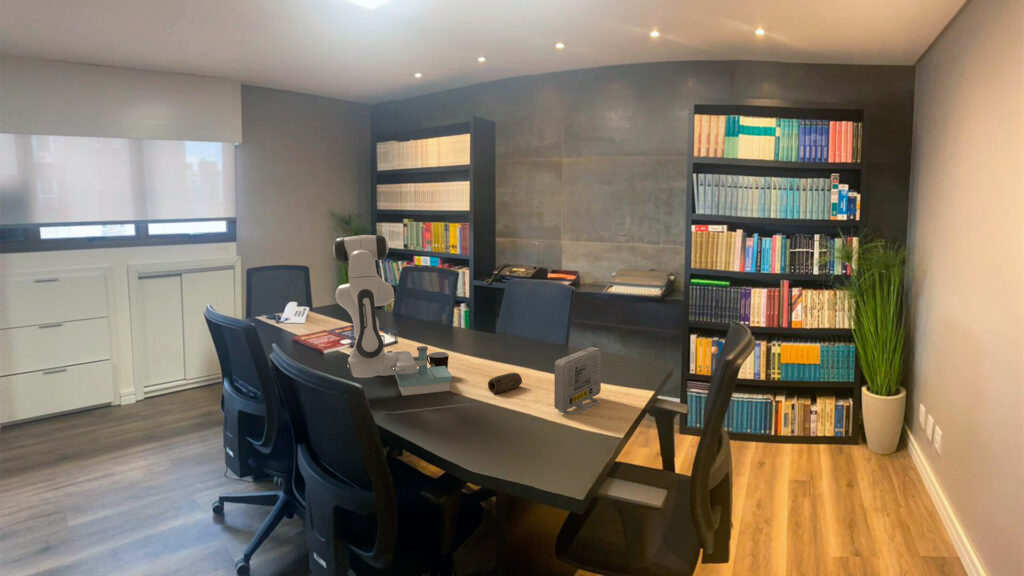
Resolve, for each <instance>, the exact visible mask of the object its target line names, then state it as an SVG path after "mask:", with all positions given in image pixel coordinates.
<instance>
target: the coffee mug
mask: <svg viewBox="0 0 1024 576" xmlns="http://www.w3.org/2000/svg"><path fill="white" fill-rule="evenodd" d="M449 357H450V354H449V353H448V352H446V351H445V352H444V351H434V352H431V353H429V354H427V364H429V367H438V366H445V367H446V368H447V369H448V365H449ZM448 370H449V369H448Z"/></svg>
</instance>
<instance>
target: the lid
mask: <svg viewBox="0 0 1024 576" xmlns="http://www.w3.org/2000/svg"><path fill="white" fill-rule="evenodd" d="M428 349H429V347H428V346H426V345H419V346H417V347H416V350H417V354H418V356H417V357H418V358H419V361H421V360H426V365H421V366H419V367H417V372H416V373H410V374H399V373H397V372H396V374H395V375H394V377H395V379H396V381H397V385H398V384H399V386H398V388H399V387H406V386H416V385H425V384H435V383H445V382H450V383H451V382H452V383H453V382H454V381H453V375H452V374H451V372H450V371H449V369H447V368H446V367H445V366H438V367H430V366H429V367H428V361H427V356H428V352H427V351H428Z"/></svg>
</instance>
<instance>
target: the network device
mask: <svg viewBox="0 0 1024 576" xmlns="http://www.w3.org/2000/svg"><path fill="white" fill-rule="evenodd" d="M601 373H602V349H601V348H599V347H598V348H597V347H592V346H590V347H587V348H585V349H583V350H580V351H577V352H575V353H572V354H569V355H567V356H563V357H561V358H559V359H557V360H555V362H554V400H553V401H554V409H556V410H557V411H558V412H559V413H562V414H566V415H569V416H570V415H571V416H577V415H579V414H582V413H583V412H585V411H587V410H589V409H591V408H592V407H594V406H596V405H598V404H600V400H599V398H594V397H596V396H597V395H600V393H601V390H602V388H601V387H602V386H601V384H602V383H601V382H602V376H601ZM587 401H593V403H590V404H585V403H584V402H587ZM573 408H579V410H577V411H573V412H572V411H569V410H570V409H573Z"/></svg>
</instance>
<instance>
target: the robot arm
mask: <svg viewBox="0 0 1024 576" xmlns="http://www.w3.org/2000/svg"><path fill="white" fill-rule="evenodd" d="M332 253H333V256H334V259H335V260H336V261H337V262H339V263H341V264H343V265H344V266H346V264H347V263H348V268H347V270H348V274H347V275H348V282H347V283H343V284H341V285H338V287H337V288H336V291H335V300H336V302H337V304H338V305H339V306H340V307H342V308H343V309H344V310H346V311H347V313H348V314H349V315H350V317H351V319H352V323H353V331H354V336H353V345H354V346H353V347H352V349H351V350H350V351H349V354H350V356H349V357H348V358H347V366H346V367H348V368H347V369H348V370H349V373H350V375H351V376H353V377H354V378H359V379H361V378H373V377H376V376H383V377H384V376H395V374H396V372H397V373H399V374H410V373H416V372H417V368H419V366H421V365H426V360H421V361H419V358H418V356H413V355H412V353H411V352H410V351H406V350H404V351H403V350H402V351H392V350H387V351H385V347H384V340H383V338H382V336H381V335H380V323H379V322H380V321H379V319H378V317H377V316H376V315H377V314H376V307H382V306H386V305H389V304H391V303H392V302H393V300H394V298H395V289H394V288H393V286H392V285H391V284H390V283H389V282H387V281H385V280H384V279H382V278H381V277H380V276H379V274H378V270H377V266H376V261H383V260H385V259H386V258H387V256H388V253H389V244H388V240H387V238H386V237H385V236H383V235H380V234H374V235H373V234H371V235H370V234H360V235H354V236H347V237H344V236H341V237H338V238H336V239H335V240H334V243H333V246H332Z"/></svg>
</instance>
